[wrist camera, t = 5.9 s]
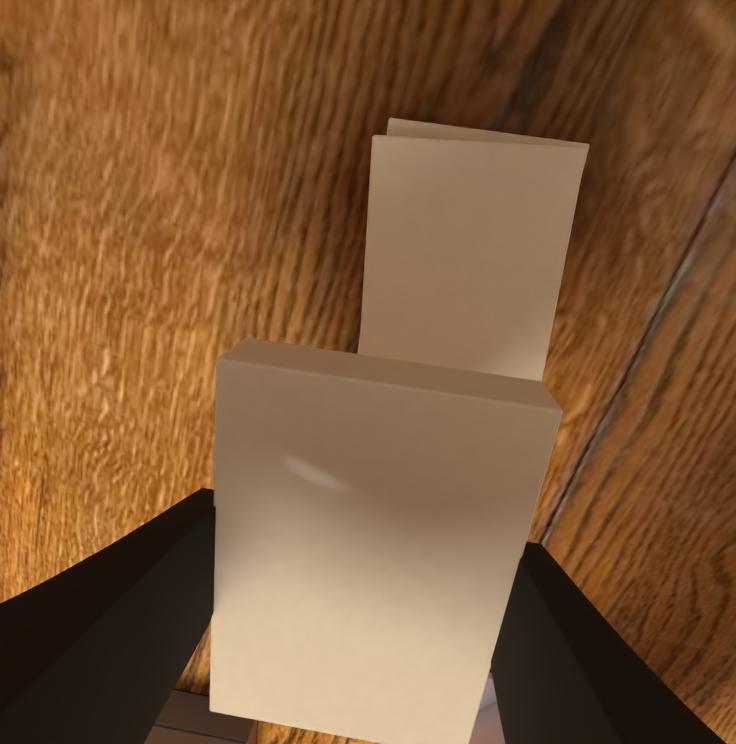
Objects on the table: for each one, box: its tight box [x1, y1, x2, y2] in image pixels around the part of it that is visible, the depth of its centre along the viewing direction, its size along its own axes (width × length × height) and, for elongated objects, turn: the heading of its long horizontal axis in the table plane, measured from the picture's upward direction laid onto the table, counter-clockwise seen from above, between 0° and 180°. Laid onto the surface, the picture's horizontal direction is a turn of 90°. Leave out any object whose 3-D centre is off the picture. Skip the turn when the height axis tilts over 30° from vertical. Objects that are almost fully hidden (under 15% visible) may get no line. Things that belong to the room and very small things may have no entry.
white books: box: [358, 118, 589, 382], centre depth 16 cm, size 9×6×3 cm
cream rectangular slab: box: [210, 338, 563, 744], centre depth 9 cm, size 8×6×1 cm
